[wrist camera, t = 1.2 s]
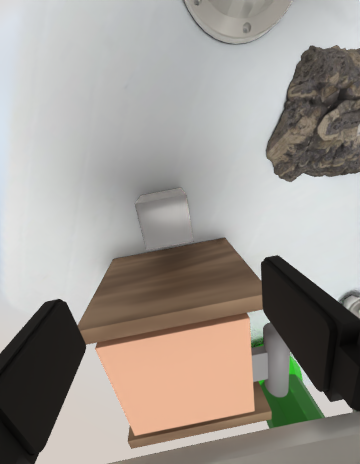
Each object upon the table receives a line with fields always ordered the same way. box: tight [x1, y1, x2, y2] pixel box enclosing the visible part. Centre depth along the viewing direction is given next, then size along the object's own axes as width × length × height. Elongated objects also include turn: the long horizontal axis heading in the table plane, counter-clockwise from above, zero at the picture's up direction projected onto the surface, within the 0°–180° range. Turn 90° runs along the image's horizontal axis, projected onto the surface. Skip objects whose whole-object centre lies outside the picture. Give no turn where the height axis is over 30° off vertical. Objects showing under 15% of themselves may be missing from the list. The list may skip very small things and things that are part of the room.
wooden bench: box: [78, 238, 272, 449], centre depth 25 cm, size 19×17×13 cm
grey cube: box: [135, 188, 194, 250], centre depth 24 cm, size 6×6×6 cm
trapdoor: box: [95, 313, 290, 436], centre depth 20 cm, size 14×18×2 cm
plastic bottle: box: [255, 344, 325, 429], centre depth 26 cm, size 10×10×25 cm
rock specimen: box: [266, 45, 360, 182], centre depth 23 cm, size 19×4×15 cm
